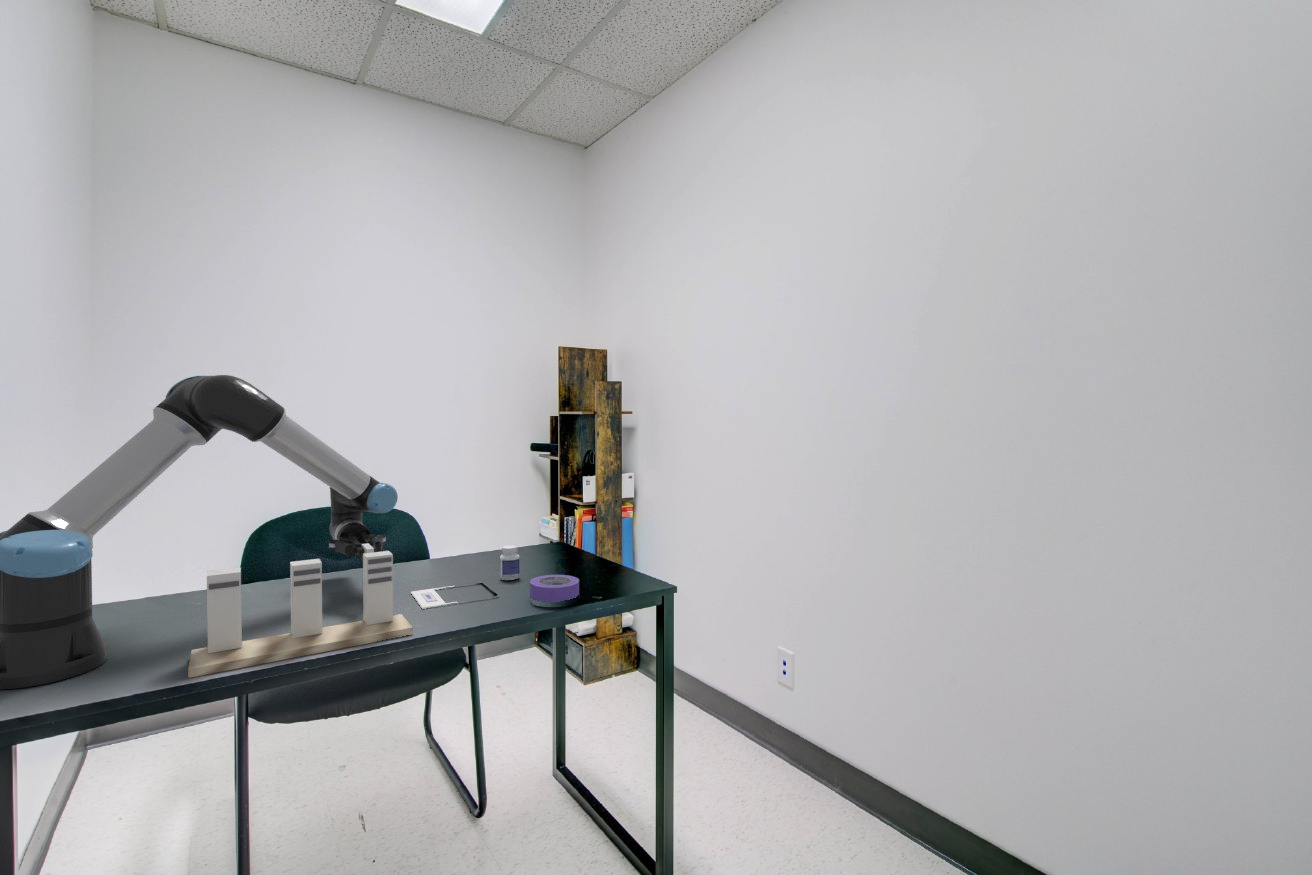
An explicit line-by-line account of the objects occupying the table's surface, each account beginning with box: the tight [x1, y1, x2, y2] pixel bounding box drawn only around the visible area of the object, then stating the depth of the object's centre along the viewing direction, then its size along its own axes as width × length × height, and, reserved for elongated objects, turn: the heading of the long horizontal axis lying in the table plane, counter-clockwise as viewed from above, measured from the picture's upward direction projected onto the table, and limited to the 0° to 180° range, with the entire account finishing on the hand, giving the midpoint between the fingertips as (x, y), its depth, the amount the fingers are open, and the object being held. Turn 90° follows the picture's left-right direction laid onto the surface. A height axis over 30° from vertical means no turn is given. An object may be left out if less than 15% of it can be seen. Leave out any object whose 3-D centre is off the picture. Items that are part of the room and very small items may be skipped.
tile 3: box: [362, 550, 394, 625], centre depth 125 cm, size 5×4×14 cm
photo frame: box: [410, 585, 458, 610], centre depth 148 cm, size 15×1×18 cm
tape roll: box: [529, 574, 580, 602], centre depth 145 cm, size 12×12×5 cm
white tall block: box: [289, 558, 323, 638], centre depth 117 cm, size 5×4×14 cm
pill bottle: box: [499, 544, 521, 577], centre depth 164 cm, size 5×5×9 cm
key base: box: [187, 613, 414, 679], centre depth 115 cm, size 36×10×2 cm, turn 125°
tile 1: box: [206, 567, 243, 653], centre depth 110 cm, size 5×4×14 cm
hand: (370, 554), depth 134 cm, fingers closed
